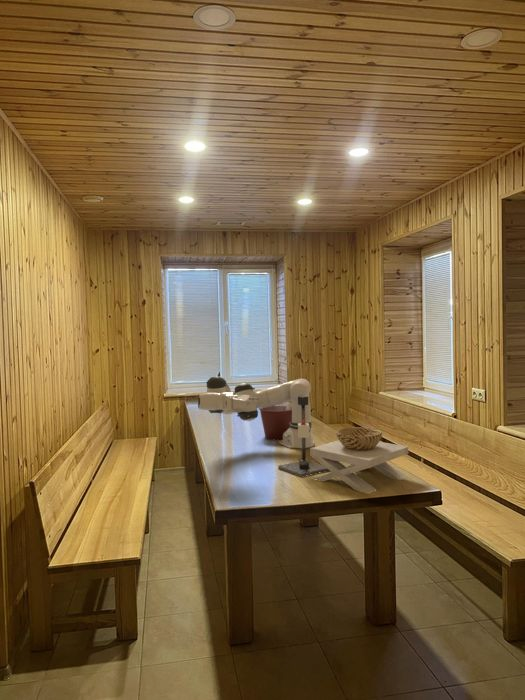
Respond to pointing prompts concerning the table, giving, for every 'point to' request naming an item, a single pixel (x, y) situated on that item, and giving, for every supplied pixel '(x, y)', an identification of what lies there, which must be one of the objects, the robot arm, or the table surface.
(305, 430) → the sleeve
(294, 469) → the rod stand
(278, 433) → the bucket
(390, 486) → the table surface
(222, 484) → the table surface
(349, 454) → the white table with basket
